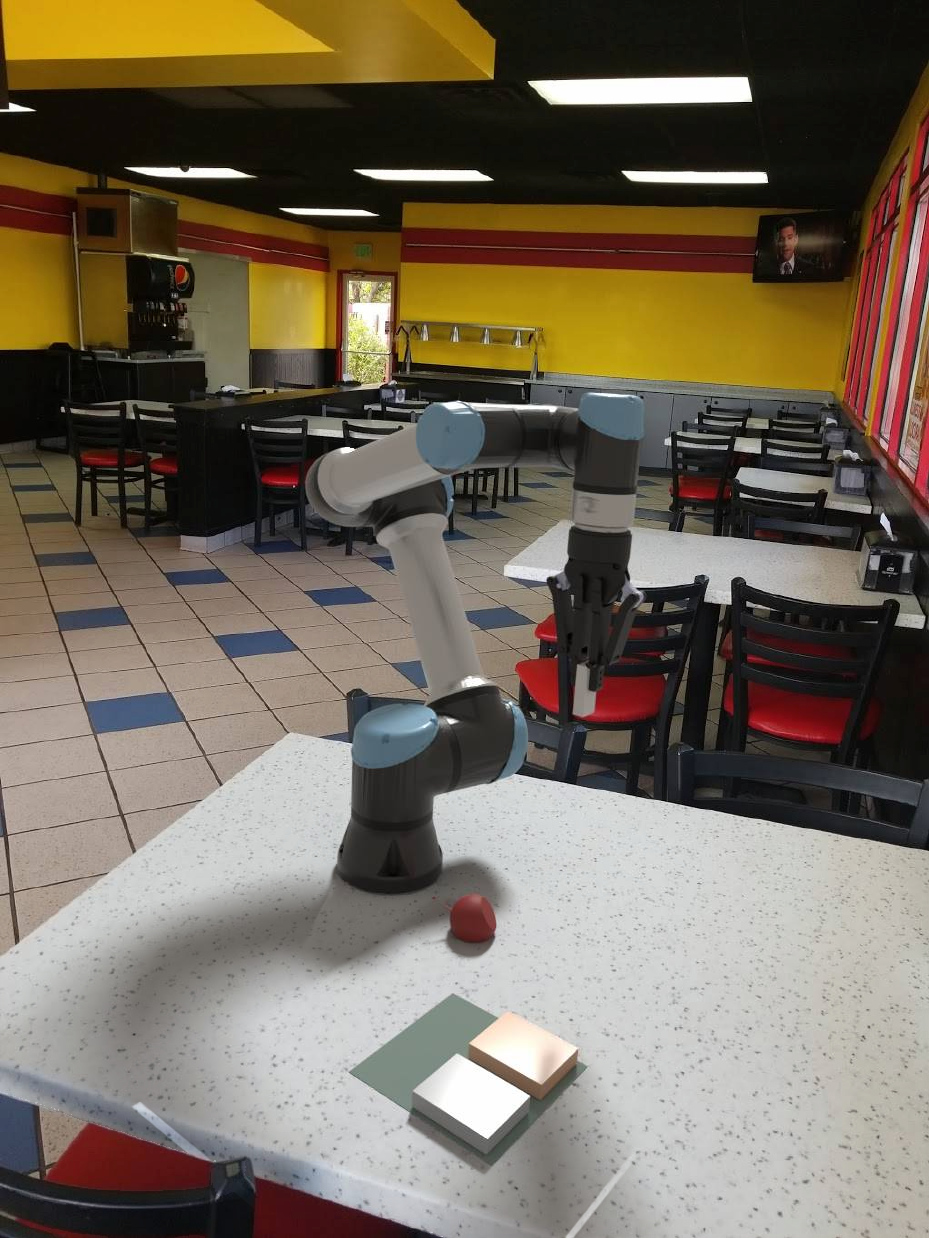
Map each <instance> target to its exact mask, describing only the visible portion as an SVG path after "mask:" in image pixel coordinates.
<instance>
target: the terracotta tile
mask: <svg viewBox="0 0 929 1238" xmlns="http://www.w3.org/2000/svg"><path fill="white" fill-rule="evenodd" d="M498 1018H499V1019H497V1020H496V1021H495V1022H494V1023H493V1024H491V1025H490V1026H489V1027H488V1028H487V1029H485V1030H484V1031H483V1032H482V1033H481V1034H479V1035H478V1036H477V1037H476V1038H475V1039H474V1040H472V1041H471V1042H470V1043H469V1051H468V1058H469V1059H471V1060H472V1061H474V1062H476V1063H477V1064H479V1065H481V1066H483V1067H484V1068H486V1069H488V1070H489V1071H491V1072H493V1073H495V1074H496V1075H498V1076H500V1077H501V1078H503V1079H505V1080H506V1081H508V1082H510V1083H512V1084H513V1085H515V1086H517V1087H518V1088H520V1089H522V1090H524V1091H525V1092H527V1093H529V1094H530V1095H532V1096H534V1097H536V1098H537V1099H539V1100H541V1099H542V1098H543V1097H544V1096H545V1095H546V1094H547V1093H548V1092H549V1091H550V1090H551V1089H552V1088H553V1087H554V1086H555V1085H556V1084H557V1083H558V1082H559V1081H560V1080H561V1079H562V1078H563V1077H564V1076H565V1075H566V1074H567V1073H568V1072H569V1071H570V1070H571V1069H572V1068H573V1067H574V1066H575V1064H576V1063H577V1061H578V1058H579V1057H578V1056H579V1047H578V1046H577V1047H576V1045H573V1044H571V1043H570V1042H567V1041H566V1040H564V1039H562V1038H560V1037H558V1036H557V1035H555V1034H553V1033H550V1032H549V1031H548V1030H545V1029H543V1028H541V1027H540V1026H538V1025H536V1024H533V1023H532V1022H530V1021H528V1020H526V1019H525V1018H522V1017H520V1016H519V1015H517V1014H515V1013H513V1012H512V1011H509V1010H507V1011H506V1012H504V1013H503V1014H502V1015H501V1016H500V1017H498Z"/></svg>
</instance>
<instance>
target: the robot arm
mask: <svg viewBox="0 0 929 1238" xmlns="http://www.w3.org/2000/svg"><path fill="white" fill-rule="evenodd" d="M578 406H579V407H578V408H576V407H569V406H568V407H567V406H562V405H555V404H552V403H537V402H536V403H528V404H511V403H509V404H506V403H502V404H501V403H486V402H485V403H481V402H465V401H460V400H453V401H448V402H435V403H431V404H429V405H428V406H426V407H425V409H423V411H422V412H423V414H422V415H420V416H419V417H418V419H417V423H415V424H413V425H410V426H408V427H405V428H402V429H400V430H398V431H396V432H393V433H391V434H389V435H386V436H384V437H381V438H379V439H376V440H374V441H372V442H369V443H368V444H367V443H366V444H365V445H363V446H360V447H357V448H355V449H354V448H350V447H340V448H337V449H334V450H332V451H329V452H327V453H325V454H323V455H321V456H320V457H318V458H317V459H315V461H314V462H313V464H312V465H311V466H310V468H309V469H308V471H307V473H306V478H305V495H306V497H307V500H308V502H309V505H310V506H311V508H312V509H313V510H314V511H315V512H316V514H318V516H320V517H321V518H322V519H324V520H325V521H327V522H329V523H332V524H334V525H337V526H342V527H350V528H355V527H357V528H358V527H359V528H360V527H363V528H364V527H372V529H373V533H374V535H375V536H374V537H375V539H376V542H377V544H378V545H379V546H381V547H383V548H386V549H387V550H389V553H390V558H391V561H392V564H393V567H394V571H395V575H396V578H397V582H398V586H399V589H400V593H401V596H402V600H403V603H404V606H405V610H406V613H407V616H408V621H409V624H410V628H411V631H412V635H413V638H414V642H415V645H416V649H417V652H418V656H419V659H420V663H421V666H422V670H423V674H424V677H425V681H426V685H427V688H428V691H429V692H428V693H429V695H428V697H427V699H426V700H425V702H424V704H418V703H407V704H402V703H393V704H387V705H382V706H380V707H377V708H375V709H373V710H372V709H371V710H370V711H369V712H367V713H365V714H363V716H362V717H361V718H360V719H359V720H358V722H357V723H356V725H355V728H354V730H353V739H352V746H351V749H350V752H351V753H350V754H351V755H350V756H351V759H352V761H351V797H350V799H351V801H350V804H351V805H350V806H351V808H350V818H349V821H348V824H347V826H346V828H345V832H344V834H343V837H342V840H341V843H340V845H339V847H338V849H337V850H338V851H337V857H336V858H337V859H336V860H337V863H336V864H337V865H336V870H337V873H338V876H340V878H341V879H342V880H343V881H344V882H345V883H346V884H347V885H350V886H352V887H354V888H355V889H358V890H361V891H364V892H368V893H373V894H377V895H379V894H380V895H403V894H404V895H405V894H411V893H414V892H418V891H422V890H424V889H426V888H428V887H430V886H432V885H433V884H434V883H435V882H437V881H438V880H439V878H440V877H441V875H442V873H443V859H444V855H443V849H442V847H441V845H440V843H439V840H438V836H437V831H436V827H435V824H434V819H433V817H434V804H435V803H434V801H435V797H436V796H440V795H443V794H446V793H448V794H449V793H452V792H456V791H459V790H464V789H468V788H472V787H477V786H481V785H491V784H493V783H496V782H498V781H499V780H504V779H507V778H510V777H512V776H513V775H514V774H515V773H517V772H518V771H519V769H520V768H521V767H522V765H523V763H524V760H525V756H526V754H527V752H528V746H529V732H528V731H529V730H528V725H527V721H526V719H525V715H524V713H523V712H522V710H521V708H520V707H519V706H517V704H516V703H515V702H514V701H512V700H509V699H506V698H502V696H501V693H500V688H499V686H498V684H497V683H495V682H493V681H492V680H490V679H487V678H486V676H485V675H484V671H483V667H482V665H481V662H480V658H479V654H478V651H477V647H476V644H475V641H474V638H473V635H472V630H471V628H470V624H469V621H468V617H467V613H466V612H465V608H464V605H463V602H462V597H461V594H460V591H459V588H458V584H457V581H456V580H457V579H456V578H455V574H454V571H453V568H452V564H451V560H450V557H449V553H448V551H447V548H446V547H447V546H446V543H445V541H444V537H443V533H444V531H445V529H446V528H447V526H448V524H449V520H448V518H449V516H450V514H451V513H452V510H453V508H454V502H455V501H454V499H453V497H452V496H454V495H455V493H454V492H455V490H454V484H453V479H452V477H451V476H454V475H458V474H461V473H465V472H469V471H471V470H475V469H486V468H487V469H488V468H489V469H492V468H502V469H503V468H552V469H553V468H554V469H562V470H567V471H572V472H573V481H572V495H571V505H570V506H571V508H570V515H569V516H570V518H569V519H570V522H572V523H573V524H574V525H571V527H570V528H568V535H567V537H568V538H567V548H566V549H567V551H566V552H567V555H568V558H567V561H566V563H565V565H564V567H563V571H561V572H559V573H558V574H554V575H549V576H548V577H546V579H545V581H546V584H547V587H548V589H549V591H550V593H551V596H552V597H551V598H552V605H553V614H554V621H555V629H556V630H555V631H556V638H557V640H556V641H557V648H558V649H557V650H558V652H559V654H561V655H566V656H567V657H568V658H569V659H570V661H571V669H570V680H569V681H570V686H572V687H574V695H573V708H572V715H574V716H578V717H580V718H584V717H587V716H589V715H592V714H593V713H595V709H596V698H597V697H596V696H597V692H599V691H601V690H602V688H603V684H604V675H605V673H604V672H605V668H606V667H608V666H611V665H612V664H615V663H618V662H619V661H620V660H621V658H622V655H623V652H624V649H625V646H626V644H627V640H628V639H629V638H628V637H629V634H630V632H631V629H632V627H633V626H632V625H633V624H634V620H635V617H636V615H637V611H638V609H639V607H641V606H642V604H643V603H644V602H645V601H646V599H647V593H646V592H645V591H644V590H638V589H637V588H636V587H635V586H634V584H632V583H631V575H630V573H629V563H630V560H631V552H632V544H633V543H632V542H633V533H632V532H631V530H630V529H629V528H631V527H632V526H633V525H634V523H635V513H636V504H637V503H636V499H637V490H638V487H637V486H638V479H639V471H640V469H639V468H640V462H641V453H642V445H643V438H644V436H645V430H644V422H645V417H644V416H645V404H644V401H643V399H642V398H641V397H640V396H637V395H633V394H617V393H603V392H586V393H583V394H582V395H581V398H580V401H579V405H578ZM570 588H571V589H570ZM571 590H572V593H573V601H572V593H571ZM621 594H622V596H621V597H620V602H621V604H620V606H619V608H618V609H617V612H616V613H617V614H616V616H615V619H614V622H613V625H612V628H611V624H612V623H611V621H612V613H613V611H614V609H615V602H616V599H617V598H618V597H619V596H620V595H621ZM573 609H574V610H573ZM587 659H588V660H587Z"/></svg>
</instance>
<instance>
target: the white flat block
mask: <svg viewBox="0 0 929 1238" xmlns="http://www.w3.org/2000/svg"><path fill="white" fill-rule="evenodd" d="M529 1105H530V1096H529V1095H527V1094H526V1093H524V1092H522V1091H521V1090H519V1089H517V1088H516V1087H514V1086H512V1085H510V1084H509V1083H507V1082H505V1081H504V1080H502V1079H500V1078H498V1077H497V1076H495V1075H493V1074H492V1073H490V1072H488V1071H487V1070H485V1069H483V1068H481V1067H480V1066H478V1065H476V1064H475V1063H473V1062H471V1061H470V1060H468V1059H466V1058H464V1057H463V1056H461V1055H459V1054H458V1053H457V1054H456V1055H455V1056H453V1057H452V1058H451V1059H450V1060H449V1061H447V1062H446V1063H445V1064H444V1065H443V1066H441V1067H440V1068H439V1069H438V1070H437V1071H435V1072H434V1073H433V1074H432V1075H431V1076H430V1077H428V1078H427V1079H426V1080H425V1081H424V1082H422V1083H421V1084H420V1085H419V1086H418V1087H416V1088H415V1089H414V1090H413V1091H412V1107H413V1108H415V1109H416V1110H418V1111H419V1112H421V1113H423V1114H424V1115H426V1116H427V1117H429V1118H430V1119H432V1120H433V1121H435V1122H436V1123H438V1124H439V1125H441V1126H442V1127H444V1128H446V1129H447V1130H449V1131H450V1132H452V1133H453V1134H455V1135H456V1136H458V1137H459V1138H461V1139H462V1140H464V1141H466V1142H467V1143H469V1144H470V1145H472V1146H473V1147H475V1148H476V1149H478V1150H479V1151H481V1152H482V1153H484V1154H486V1155H487V1154H488V1153H489V1152H490V1151H491V1150H492V1149H493V1148H494V1147H495V1146H496V1144H497V1143H498V1142H499V1141H500V1140H501V1139H502V1138H503V1137H504V1136H505V1135H506V1134H507V1133H508V1132H509V1131H510V1130H511V1129H512V1128H513V1127H514V1126H515V1125H516V1124H517V1123H518V1122H519V1121H520V1120H521V1119H522V1118H523V1117H524V1116H525V1115H526V1114H527V1113H528V1112H529Z"/></svg>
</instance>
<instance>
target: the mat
mask: <svg viewBox="0 0 929 1238" xmlns="http://www.w3.org/2000/svg"><path fill="white" fill-rule="evenodd" d="M499 1018H500V1017H498V1016H496V1015H494V1014H493V1013H491V1012H489V1011H487V1010H485V1009H483V1008H481V1007H479V1006H478V1005H476V1004H474V1003H472V1002H471V1001H468V1000H466V999H465V998H463V997H462V996H459V995H457V994H455V993H451V994H449V995H448V996H447V997H446V998H444V999H442V1000H441V1001H440V1002H439V1003H438V1004H436V1005H435V1006H434V1007H432V1008H431V1009H429V1010H428V1011H427V1012H425V1013H424V1014H423V1015H422V1016H420V1017H419V1018H418V1019H416V1020H415V1021H414V1022H413V1023H411V1024H410V1025H408V1026H407V1027H406V1028H404V1029H403V1030H402V1031H401V1032H399V1033H398V1034H397V1035H395V1036H394V1037H393V1038H391V1039H390V1040H389V1041H388V1042H386V1043H384V1045H382V1046H380V1047H379V1048H378V1049H376V1051H374V1052H372V1054H370V1055H369V1056H367V1057H366V1058H365V1059H363V1060H362V1061H361V1062H360V1063H358V1064H357V1065H355V1066H354V1067H353V1068H352V1069H351V1070H348V1073H349V1074H351V1075H352V1076H353V1077H356V1078H357V1079H359V1081H361V1082H363V1083H365V1084H366V1085H367V1086H369V1087H371V1088H373V1089H374V1090H375V1091H377V1092H378V1093H380V1094H381V1095H383V1096H384V1097H386V1098H387V1099H389V1100H391V1101H392V1102H394V1103H395V1104H397V1105H398V1106H399V1107H401V1108H403V1109H404V1110H406V1111H408V1113H411V1114H412V1115H414V1116H415V1117H416V1118H418V1119H420V1120H421V1121H422V1122H424V1123H426V1124H427V1125H429V1126H430V1127H432V1128H433V1129H435V1130H436V1131H437V1132H439V1133H441V1134H443V1135H444V1136H446V1137H447V1138H449V1139H450V1140H452V1141H453V1142H454V1143H457V1144H458V1145H459V1146H461V1147H462V1148H464V1149H466V1151H468V1152H469V1153H471V1154H472V1155H474V1156H476V1157H477V1158H479V1159H481V1160H482V1161H484V1162H485V1163H487V1164H488V1165H490V1166H491V1167H493V1165H494V1164H495V1163H497V1161H498V1160H499V1159H500V1158H501V1157H502V1156H503V1155H504V1154H505V1153H506V1152H508V1150H509V1149H510V1148H511V1147H512V1146H513V1145H514V1144H515V1142H516V1141H518V1140H519V1138H520V1137H522V1135H523V1134H524V1133H526V1131H527V1130H528V1129H529V1128H530V1127H531V1126H532V1125H533V1124H534V1123H535V1122H536V1121H537V1120H538V1119H539V1118H540V1117H541V1116H542V1115H543V1113H544V1112H546V1110H547V1109H549V1108H550V1106H551V1105H552V1104H553V1103H554V1102H555V1101H556V1100H557V1099H558V1098H559V1097H560V1096H561V1095H562V1094H563V1093H564V1092H565V1091H566V1090H567V1089H568V1088H569V1087H570V1085H571V1084H572V1083H573V1082H574V1081H576V1080H577V1078H578V1077H579V1076H580V1075H581V1074H582V1073H583V1072H584V1071H585V1070H586V1069H587V1068H589V1067H588V1065H587V1064H584V1063H583V1062H581V1061H579V1060H577V1063H576V1064H575V1066H574V1067H573V1068H572V1069H571V1070H570V1071H569V1072H568V1073H567V1074H566V1075H565V1076H564V1077H563V1078H562V1079H561V1080H560V1081H559V1082H558V1083H557V1084H556V1085H555V1086H554V1087H553V1088H552V1089H551V1090H550V1091H549V1092H548V1093H547V1094H546V1095H545V1096H544V1097H543V1098H542V1099H541V1100H539V1099H537V1098H536V1097H534V1096H532V1095H530V1094H529V1093H527V1092H525V1091H524V1090H522V1089H520V1088H518V1087H517V1086H515V1085H513V1084H512V1083H510V1082H508V1081H506V1080H505V1079H503V1078H501V1077H500V1076H498V1075H496V1074H495V1073H493V1072H491V1071H489V1070H488V1069H486V1068H484V1067H483V1066H481V1065H479V1064H477V1063H476V1062H474V1061H472V1060H471V1059H469V1058H468V1051H469V1043H470V1042H471V1041H472V1040H474V1039H475V1038H476V1037H477V1036H478V1035H479V1034H481V1033H482V1032H483V1031H484V1030H485V1029H487V1028H488V1027H489V1026H490V1025H491V1024H493V1023H494V1022H495V1021H496V1020H497V1019H499ZM457 1053H458V1054H459V1055H461V1056H463V1057H464V1058H466V1059H468V1060H470V1061H471V1062H473V1063H475V1064H476V1065H478V1066H480V1067H481V1068H483V1069H485V1070H487V1071H488V1072H490V1073H492V1074H493V1075H495V1076H497V1077H498V1078H500V1079H502V1080H504V1081H505V1082H507V1083H509V1084H510V1085H512V1086H514V1087H516V1088H517V1089H519V1090H521V1091H522V1092H524V1093H526V1094H527V1095H529V1096H530V1105H529V1112H528V1113H527V1114H526V1115H525V1116H524V1117H523V1118H522V1119H521V1120H520V1121H519V1122H518V1123H517V1124H516V1125H515V1126H514V1127H513V1128H512V1129H511V1130H510V1131H509V1132H508V1133H507V1134H506V1135H505V1136H504V1137H503V1138H502V1139H501V1140H500V1141H499V1142H498V1143H497V1144H496V1146H495V1147H494V1148H493V1149H492V1150H491V1151H490V1152H489V1153H488V1154H487V1155H486V1154H484V1153H482V1152H481V1151H479V1150H478V1149H476V1148H475V1147H473V1146H472V1145H470V1144H469V1143H467V1142H466V1141H464V1140H462V1139H461V1138H459V1137H458V1136H456V1135H455V1134H453V1133H452V1132H450V1131H449V1130H447V1129H446V1128H444V1127H442V1126H441V1125H439V1124H438V1123H436V1122H435V1121H433V1120H432V1119H430V1118H429V1117H427V1116H426V1115H424V1114H423V1113H421V1112H419V1111H418V1110H416V1109H415V1108H413V1107H412V1091H413V1090H414V1089H415V1088H416V1087H418V1086H419V1085H420V1084H421V1083H422V1082H424V1081H425V1080H426V1079H427V1078H428V1077H430V1076H431V1075H432V1074H433V1073H434V1072H435V1071H437V1070H438V1069H439V1068H440V1067H441V1066H443V1065H444V1064H445V1063H446V1062H447V1061H449V1060H450V1059H451V1058H452V1057H453V1056H455V1055H456V1054H457Z"/></svg>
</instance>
